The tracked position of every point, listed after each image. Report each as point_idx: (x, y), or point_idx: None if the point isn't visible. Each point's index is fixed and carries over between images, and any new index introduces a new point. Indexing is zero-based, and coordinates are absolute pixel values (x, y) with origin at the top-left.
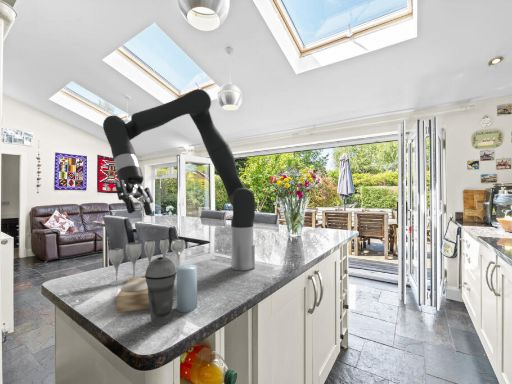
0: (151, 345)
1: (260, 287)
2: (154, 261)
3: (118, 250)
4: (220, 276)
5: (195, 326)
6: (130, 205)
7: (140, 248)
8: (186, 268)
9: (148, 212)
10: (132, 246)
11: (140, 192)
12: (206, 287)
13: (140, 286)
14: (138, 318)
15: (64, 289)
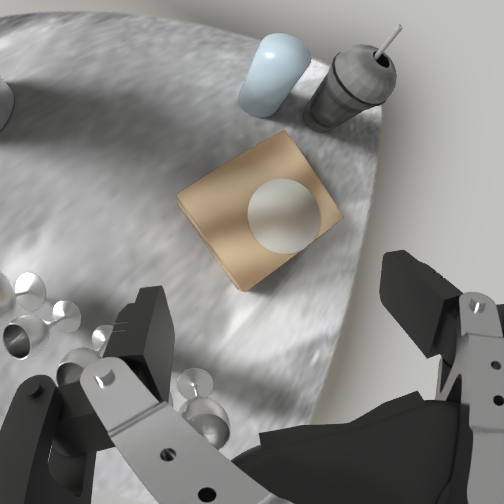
0: None
1: (121, 21)
2: (394, 69)
3: (214, 413)
4: (59, 123)
5: None
6: (438, 275)
7: None
8: (294, 49)
9: (165, 315)
10: None
11: (292, 491)
12: (143, 112)
13: (286, 203)
14: (327, 161)
15: None
